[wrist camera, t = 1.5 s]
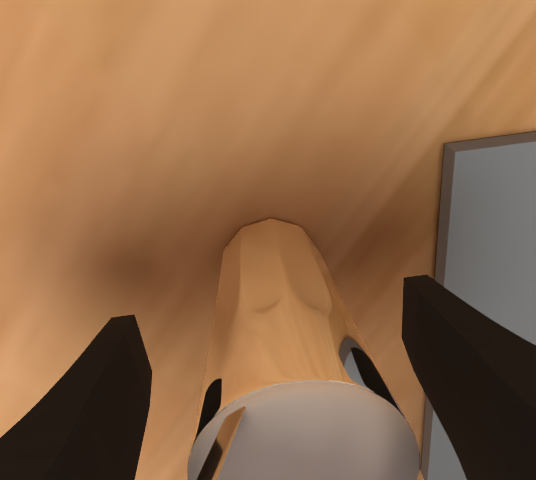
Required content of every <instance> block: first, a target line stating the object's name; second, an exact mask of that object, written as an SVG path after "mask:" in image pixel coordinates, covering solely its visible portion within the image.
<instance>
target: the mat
mask: <svg viewBox="0 0 536 480" xmlns="http://www.w3.org/2000/svg"><path fill="white" fill-rule="evenodd" d="M435 281H436V282H438V283H439V284H441V285H442V286H443V287H445V288H446V289H448V290H449V291H450V292H452V293H453V294H455V295H456V296H457V297H459V298H460V299H462V300H463V301H465V302H466V303H468V304H469V305H470V306H472V307H473V308H475V309H476V310H478V311H479V312H481V313H482V314H484V315H485V316H487V317H488V318H490V319H492V320H493V321H495V322H496V323H498V324H500V325H501V326H503V327H505V328H506V329H508V330H510V331H511V332H513V333H515V334H516V335H518V336H520V337H521V338H523V339H525V340H527V341H529V342H531V343H532V344H534V345H536V132H529V133H521V134H513V135H506V136H498V137H491V138H483V139H475V140H468V141H460V142H453V143H445V145H444V159H443V172H442V186H441V200H440V213H439V227H438V241H437V255H436V268H435ZM421 472H422V475H423V477H424V480H467V479H466V476H465V474H464V471H463V469H462V466H461V464H460V461H459V459H458V457H457V455H456V452H455V450H454V448H453V446H452V444H451V442H450V440H449V438H448V436H447V434H446V432H445V430H444V428H443V426H442V424H441V422H440V421H439V419H438V417H437V415H436V413H435V411H434V409H433V407H432V405H431V403H430V401H429V399H428V397H427V396H426V405H425V419H424V433H423V446H422V460H421Z"/></svg>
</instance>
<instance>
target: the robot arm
mask: <svg viewBox="0 0 536 480" xmlns="http://www.w3.org/2000/svg"><path fill="white" fill-rule="evenodd" d="M402 339H403V342H404V345H405V348H406V351H407V354H408V356H409V359H410V362H411V364H412V367H413V370H414V372H415V374H416V376H417V378H418V380H419V382H420V384H421V386H422V388H423V390H424V392H425V394H426V396H427V397H428V399H429V401H430V403H431V405H432V407H433V409H434V411H435V413H436V415H437V417H438V419H439V421H440V422H441V424H442V426H443V428H444V430H445V432H446V434H447V436H448V438H449V440H450V442H451V444H452V446H453V448H454V450H455V452H456V455H457V457H458V459H459V461H460V464H461V466H462V469H463V471H464V474H465V476H466V479H467V480H536V345H534V344H532V343H531V342H529V341H527V340H525V339H523V338H521V337H520V336H518V335H516V334H515V333H513V332H511V331H510V330H508V329H506V328H505V327H503V326H501V325H500V324H498V323H496V322H495V321H493V320H492V319H490V318H488V317H487V316H485V315H484V314H482V313H481V312H479V311H478V310H476V309H475V308H473V307H472V306H470V305H469V304H468V303H466V302H465V301H463V300H462V299H460V298H459V297H457V296H456V295H455V294H453V293H452V292H450V291H449V290H448V289H446V288H445V287H443V286H442V285H441V284H439V283H438V282H436V281H435V280H433V279H432V278H431V277H429V276H428V275H422V276H414V277H407V278H404V288H403V316H402ZM151 381H152V370H151V367H150V363H149V360H148V357H147V354H146V350H145V347H144V344H143V341H142V337H141V334H140V331H139V328H138V324H137V321H136V318H135V315H128V316H120V317H113V318H111V319H110V320H109V321H108V322H107V324H106V325H105V326H104V327H103V329H102V330H101V331H100V332H99V333H98V335H97V336H96V337H95V338H94V340H93V341H92V342H91V343H90V345H89V346H88V347H87V348H86V349H85V351H84V352H83V353H82V354H81V356H80V357H79V358H78V359H77V360H76V361H75V363H74V364H73V365H72V366H71V367H70V368H69V370H68V371H67V372H66V373H65V374H64V375H63V376H62V378H61V379H60V380H59V381H58V382H57V383H56V384H55V385H54V386H53V387H52V388H51V389H50V390H49V392H48V393H47V394H46V395H45V396H44V397H43V398H42V399H41V400H40V401H39V402H38V403H37V404H36V405H35V406H34V407H33V408H32V409H31V410H30V411H29V412H28V413H27V414H26V415H25V416H24V417H23V418H22V419H21V420H20V421H18V422H17V423H16V424H15V425H14V426H13V427H12V428H11V429H10V430H9V431H8V432H6V433H5V434H4V435H3V436H2V437H1V438H0V480H134V479H135V475H136V470H137V465H138V460H139V456H140V451H141V446H142V441H143V437H144V432H145V427H146V422H147V417H148V412H149V407H150V395H151Z"/></svg>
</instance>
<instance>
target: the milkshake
mask: <svg viewBox="0 0 536 480" xmlns="http://www.w3.org/2000/svg"><path fill="white" fill-rule="evenodd" d="M419 468H420V453H419V448H418V444H417V441H416V438H415V435H414V433H413V431H412V429H411V427H410V426H409V424H408V422H407V421H406V419H405V417H404V415H403V413H402V411H401V409H400V407H399V406H398V404H397V402H396V400H395V398H394V396H393V395H392V393H391V391H390V389H389V387H388V385H387V384H386V382H385V380H384V378H383V376H382V374H381V372H380V371H379V369H378V367H377V365H376V363H375V361H374V360H373V358H372V356H371V354H370V352H369V351H368V349H367V347H366V345H365V343H364V342H363V340H362V338H361V336H360V334H359V332H358V330H357V328H356V326H355V324H354V322H353V320H352V318H351V316H350V314H349V312H348V310H347V308H346V306H345V303H344V301H343V299H342V297H341V295H340V293H339V291H338V289H337V287H336V285H335V283H334V281H333V279H332V277H331V275H330V273H329V271H328V269H327V267H326V265H325V263H324V261H323V259H322V257H321V254H320V252H319V251H318V249H317V247H316V246H315V245H314V243H313V242H312V241H311V239H310V238H309V237H308V235H307V234H306V233H305V232H304V230H303V229H302V228H301V226H298V225H294V224H291V223H287V222H283V221H280V220H276V219H273V218H270V219H267V220H264V221H261V222H257V223H254V224H251V225H247V226H244V227H242V228H241V229H240V230H239V231H238V233H237V234H236V235H235V236H234V238H233V239H232V240H231V241H230V243H229V244H228V245H227V246H226V248H225V249H224V251H223V258H222V265H221V272H220V279H219V286H218V293H217V300H216V307H215V314H214V321H213V328H212V335H211V342H210V348H209V354H208V360H207V365H206V370H205V376H204V381H203V386H202V392H201V397H200V402H199V408H198V413H197V418H196V424H195V429H194V434H193V440H192V445H191V451H190V456H189V461H188V480H417V477H418V473H419Z"/></svg>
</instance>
